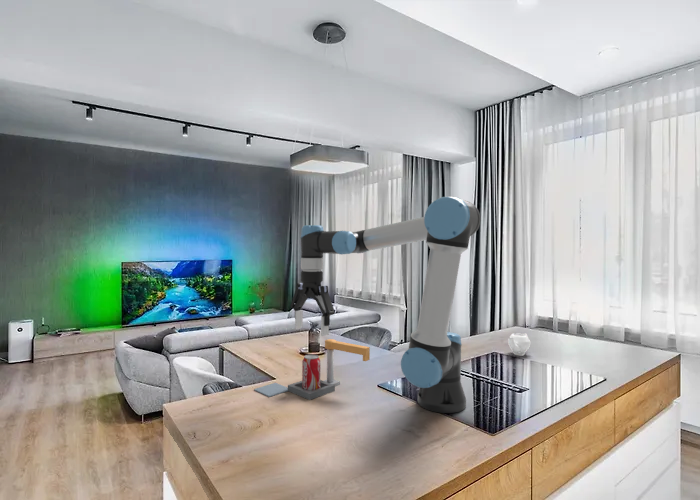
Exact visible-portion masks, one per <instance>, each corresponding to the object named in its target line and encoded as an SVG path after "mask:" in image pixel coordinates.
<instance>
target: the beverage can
mask: <svg viewBox="0 0 700 500" xmlns="http://www.w3.org/2000/svg"><path fill="white" fill-rule="evenodd" d="M301 365H302V366H301V368H302V369H301V370H302V373H301V376H302V378H301V379H302V380H301V381H302V389H305V390H307V391H313V390H316V389H319V388H320V380H321V359H320V356H319V355H318V354H305V355H304V356H303V359H302V362H301Z"/></svg>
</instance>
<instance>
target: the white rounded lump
mask: <svg viewBox="0 0 700 500" xmlns="http://www.w3.org/2000/svg"><path fill="white" fill-rule="evenodd" d="M507 344H508V346H509V348H510V350H511V351H512V353H513V355H514V356H521V357H522V356H523V357H524V356H525V354H526V351H528V350H529V348H530V346H531V340H530V338H529V336H528V334H527V333H522V332H521V333H520V332H514V333H511V334H510V335H509V337H508V338H507Z"/></svg>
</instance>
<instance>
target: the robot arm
mask: <svg viewBox="0 0 700 500" xmlns="http://www.w3.org/2000/svg"><path fill="white" fill-rule="evenodd" d="M481 219H482V218H481V215H480V211H479V209H478V208H477V206H476V205H475V204H473V203H472V202H470V201H468V200H465V199H461V198H460V197H455V196H442V197H439V198H437V199H435V200H434V201H433V202H431V203H430V204H429V205H428V206H427V208H426V210H425V213H424V216H421V217H418V218H417V217H416V218H412V219H408V220H403V221H398V222H395V223H390V224H389V223H388V224H385V225H382V226H381V225H380V226H375V227H372V228H367V229H362V230H357V231H350V230H349V231H348V230H329V231H328V230H327V231H325V230H324V226H323V225H315V224H313V225H311V224H309V225H307V224H306V225H303V226H302V227H301V233H300V234H301V235H300V249H301V252H300V253H301V255H300V269H301V271H300V281H301V282H297V283H296V284H295V291H294V295H293V298H292V301H291V304H290V308H291V309H293V311H294V322H295V323H294V325H295V326H294V328H295V331H296V330H297V331H298V330H302V329H303V328H304V327H303V323H304V322H303V307H304V305H305V303H306V302H307V300H308V298H311V299H313V300H315V302H316V304H317V306H318V309H319V310H320V311H321V313H322V315H321V317H320V327H321V328H320V336H321V337H325V336H328V335H329V330H330V329H329V326H330V324H331V323H330V322H331V321H330V320H331V319H330V318H331V316H333V315H335V310H334V306H333V303H332V300H331V296H330V294H329V293H330V292H329V287H328V285H322V284H321V283H322V282H323V281H324V278H323V277H324V271H323V269H324V254H333V255H350V254H364V253H367V252H370V251H374V250H379V249H385V248H391V247H395V246H400V245H401V246H402V245H407V244H411V243H417V242H418V243H419V242H422V241H425V242H426V244H427V246H428V248H429V249H430V250H429V255H428V261H427V268H426V274H425V278H424V286H423V291H422V297H421V304H420V309H419V316H418V322H417V327H416V330H415V331H412V332H411V334H410V337H409V343H408V348H407V350H405V351H404V353H403V355H402V357H401V359H400V367H401V372H402V375H403V376H404V377H405V378H406V380H407V381H408V382H409V383H410V384H411V385H413V386H415V387H416V388H419V390H418V392H417V404H418V406H420V407H422V409H425V410H427V411H430V412H434V413H439V414H440V413H442V414H453V413H459V412H462V411H464V410H466V408H467V398H466V397H467V396H466V395H465V394H466V393H465V391H464V387H463V385H462V381H461V379H462V378H461V377H462V376H461V375H462V374H461V372H462V370H461V369H462V345H463V344H462V337H461V335H460V334H458V333H456V332H451V331H449V325H450V320H451V316H452V309H453V302H454V297H455V291H456V286H457V280H458V274H459V273H458V272H459V269H460V263H461V257H462V254H463V253H464V252H465V251H467V250H468V249H469V248H468V247H469V244H470V243H469V242H470V238H471V237H472V236H474V234H476V233H477V231H478V230H479V228H480V226H481V221H482V220H481Z"/></svg>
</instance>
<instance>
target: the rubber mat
mask: <svg viewBox="0 0 700 500" xmlns="http://www.w3.org/2000/svg"><path fill="white" fill-rule="evenodd" d="M253 390H254V391H255V392H257V393H259V394H261V395H263V396H266V397H268V398H271V397H273V396H277V395H281V394H283V393H286V392H289V391H288V386H285V385H283V384H280V383H278V382H273V383H270V384H267V385H263V386H259V387H257V388H254V389H253Z"/></svg>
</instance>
